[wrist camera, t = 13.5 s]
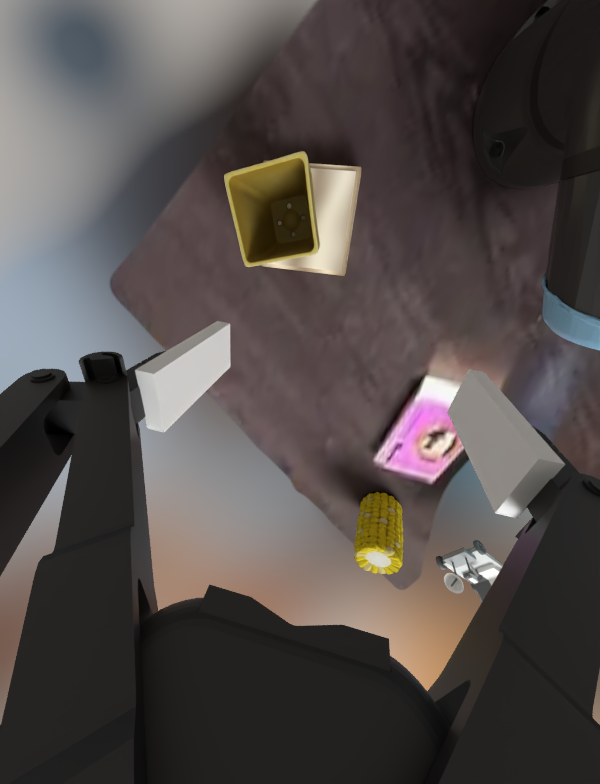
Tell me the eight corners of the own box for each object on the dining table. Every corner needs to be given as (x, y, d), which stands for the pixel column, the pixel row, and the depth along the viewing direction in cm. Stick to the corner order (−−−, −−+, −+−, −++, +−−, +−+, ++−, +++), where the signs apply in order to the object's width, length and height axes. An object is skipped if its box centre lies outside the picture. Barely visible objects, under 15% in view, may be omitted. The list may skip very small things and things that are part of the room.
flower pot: (252, 186, 35) (221, 173, 27) (319, 169, 33) (306, 149, 25) (267, 261, 39) (244, 268, 31) (328, 250, 37) (319, 254, 29)
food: (396, 513, 67) (355, 503, 69) (409, 490, 59) (362, 479, 61) (397, 585, 56) (348, 571, 58) (412, 569, 48) (355, 553, 50)
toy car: (435, 592, 61) (482, 576, 56) (427, 549, 70) (466, 531, 64) (491, 628, 64) (540, 616, 58) (476, 583, 72) (518, 569, 67)
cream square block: (361, 172, 35) (361, 166, 32) (345, 272, 41) (343, 276, 38) (271, 166, 37) (262, 159, 33) (269, 263, 43) (261, 266, 40)
